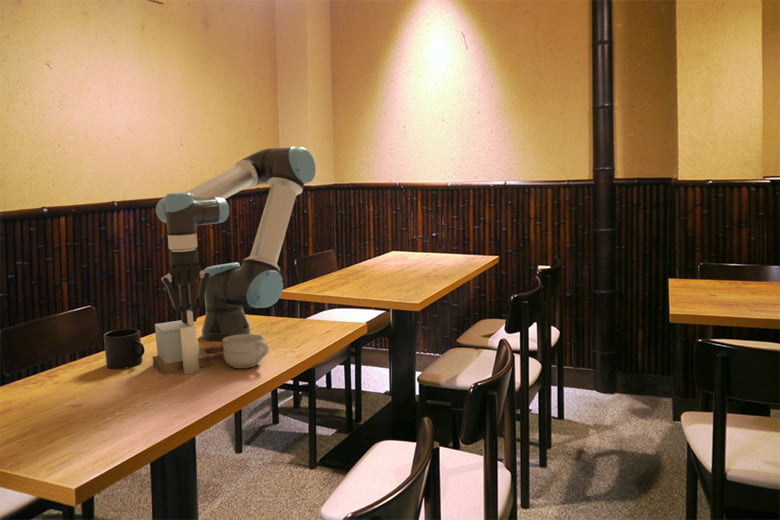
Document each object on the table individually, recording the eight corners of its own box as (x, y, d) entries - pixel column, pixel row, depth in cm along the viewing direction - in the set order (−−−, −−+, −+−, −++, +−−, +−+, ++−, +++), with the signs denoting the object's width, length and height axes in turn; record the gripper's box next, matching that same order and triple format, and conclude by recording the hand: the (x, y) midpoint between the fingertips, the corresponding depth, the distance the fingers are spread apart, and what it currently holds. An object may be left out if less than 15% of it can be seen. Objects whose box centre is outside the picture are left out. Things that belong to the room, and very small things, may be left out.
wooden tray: (222, 352, 197) (220, 332, 196) (233, 360, 189) (231, 339, 188) (153, 365, 187) (151, 344, 186) (162, 374, 179) (160, 352, 178)
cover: (184, 350, 191) (182, 319, 190) (194, 358, 183) (191, 326, 181) (157, 355, 187) (154, 324, 186) (166, 363, 179) (163, 331, 178)
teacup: (216, 366, 183) (214, 338, 182) (249, 357, 191) (247, 330, 190) (246, 376, 174) (244, 346, 173) (280, 366, 182) (278, 337, 181)
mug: (133, 371, 182) (130, 338, 181) (99, 367, 186) (95, 336, 185) (157, 361, 191) (154, 330, 190) (123, 358, 195) (120, 327, 194)
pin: (197, 368, 182) (193, 325, 181) (201, 372, 179) (197, 328, 177) (182, 371, 180) (178, 328, 179) (186, 375, 177) (182, 330, 175)
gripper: (203, 246, 189) (209, 327, 193) (155, 250, 183) (163, 335, 186) (211, 248, 183) (217, 332, 187) (162, 253, 176) (169, 340, 180)
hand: (190, 333), depth 186 cm, fingers closed
